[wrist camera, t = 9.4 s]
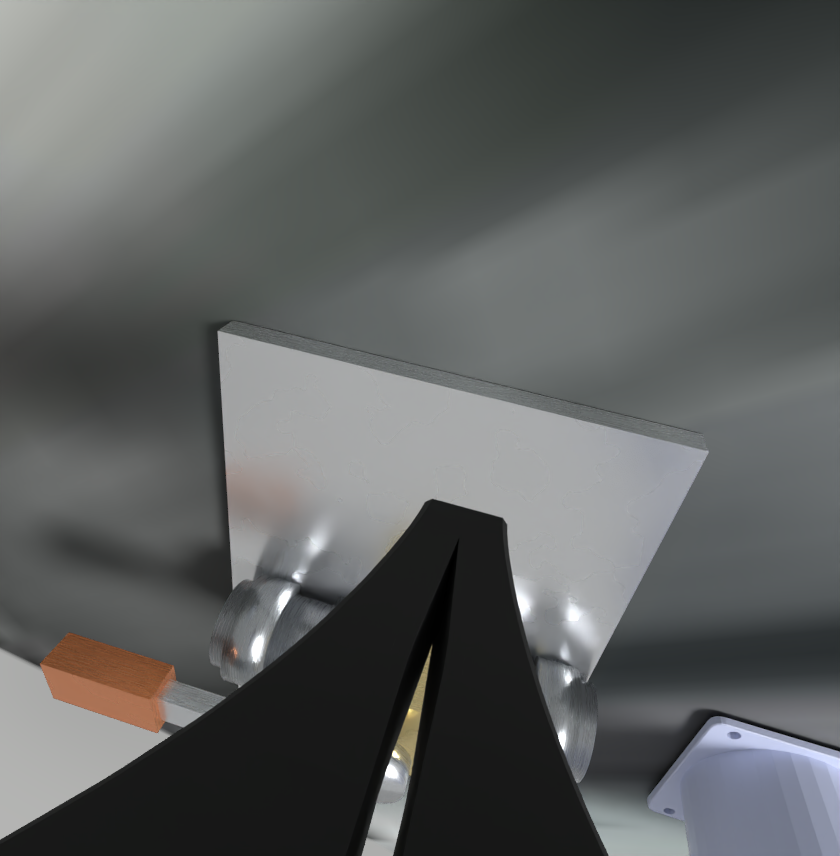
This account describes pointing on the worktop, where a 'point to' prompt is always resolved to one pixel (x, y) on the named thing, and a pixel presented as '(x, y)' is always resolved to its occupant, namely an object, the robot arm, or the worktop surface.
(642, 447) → the valve rig
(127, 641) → the worktop surface
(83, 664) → the lever
